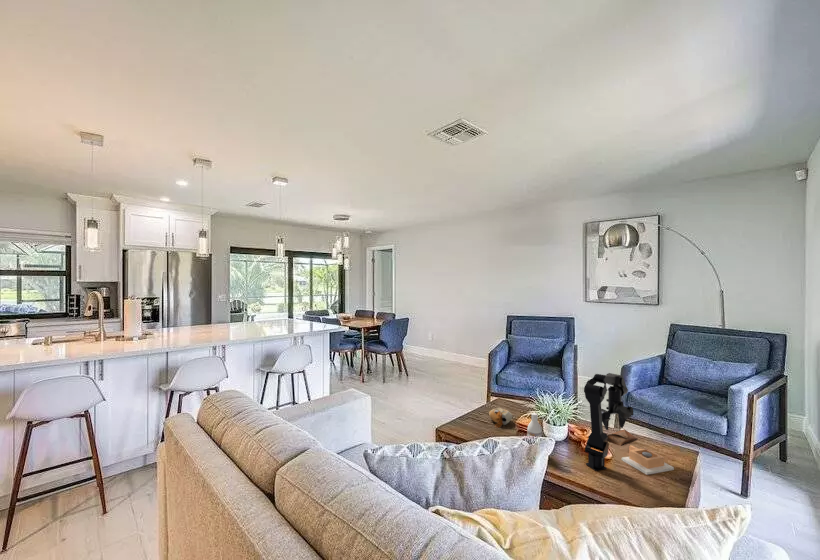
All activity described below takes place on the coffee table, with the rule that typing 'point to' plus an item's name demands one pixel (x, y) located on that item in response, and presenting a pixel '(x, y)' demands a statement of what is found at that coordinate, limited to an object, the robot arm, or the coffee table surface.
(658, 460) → the orange link
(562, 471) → the coffee table surface
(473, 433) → the coffee table surface
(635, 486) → the coffee table surface
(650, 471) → the board
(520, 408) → the coffee table surface
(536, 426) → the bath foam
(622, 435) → the sunglasses case
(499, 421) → the nautilus
